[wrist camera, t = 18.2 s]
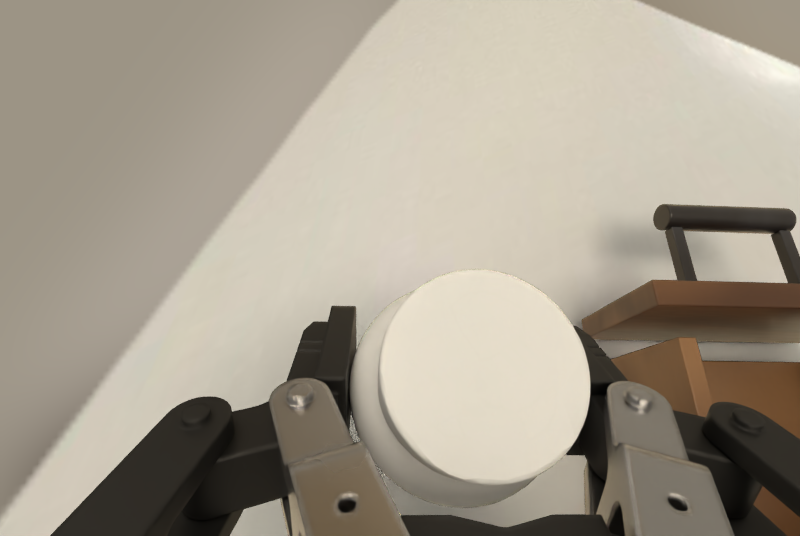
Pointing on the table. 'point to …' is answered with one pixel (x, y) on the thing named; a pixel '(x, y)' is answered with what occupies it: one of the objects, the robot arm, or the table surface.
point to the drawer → (714, 328)
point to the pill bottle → (469, 388)
